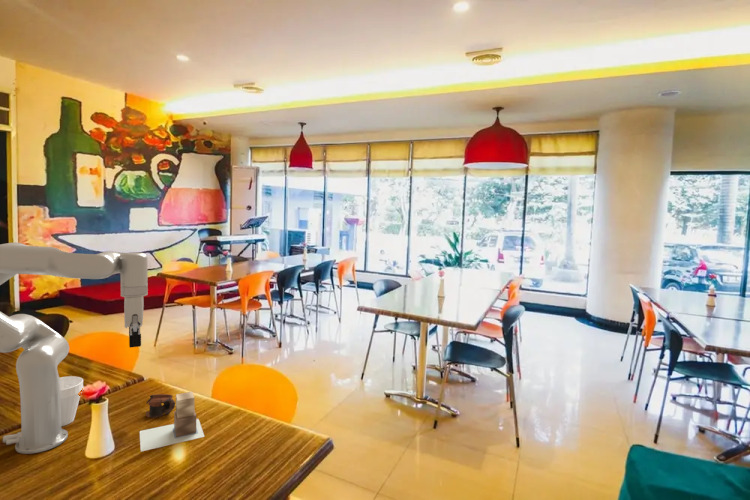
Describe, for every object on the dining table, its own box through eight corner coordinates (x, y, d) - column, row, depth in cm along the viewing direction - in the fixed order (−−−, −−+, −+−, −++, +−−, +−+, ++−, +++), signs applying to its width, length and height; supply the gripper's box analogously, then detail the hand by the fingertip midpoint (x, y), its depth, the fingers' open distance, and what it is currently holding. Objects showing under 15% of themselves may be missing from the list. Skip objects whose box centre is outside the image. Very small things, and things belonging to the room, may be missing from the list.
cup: (57, 434, 130) (57, 393, 129) (28, 427, 133) (27, 387, 132) (92, 416, 142) (92, 379, 141) (65, 410, 145) (64, 374, 144)
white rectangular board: (140, 454, 122) (140, 451, 122) (139, 433, 133) (139, 430, 133) (204, 438, 131) (204, 436, 131) (198, 420, 142) (198, 418, 142)
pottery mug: (137, 419, 142) (141, 395, 146) (158, 420, 150) (162, 397, 154) (163, 417, 139) (167, 392, 142) (184, 418, 147) (187, 394, 150)
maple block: (177, 418, 130) (177, 400, 130) (175, 411, 134) (175, 394, 134) (194, 415, 133) (194, 397, 132) (192, 408, 137) (192, 391, 136)
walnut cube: (176, 437, 130) (176, 419, 129) (174, 428, 135) (174, 411, 134) (196, 432, 133) (196, 415, 133) (193, 424, 138) (193, 407, 138)
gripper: (121, 286, 136) (121, 336, 137) (120, 296, 121) (121, 352, 122) (146, 285, 140) (147, 333, 141) (148, 295, 125) (149, 348, 126)
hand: (134, 342), depth 132 cm, fingers open, 9 cm apart
